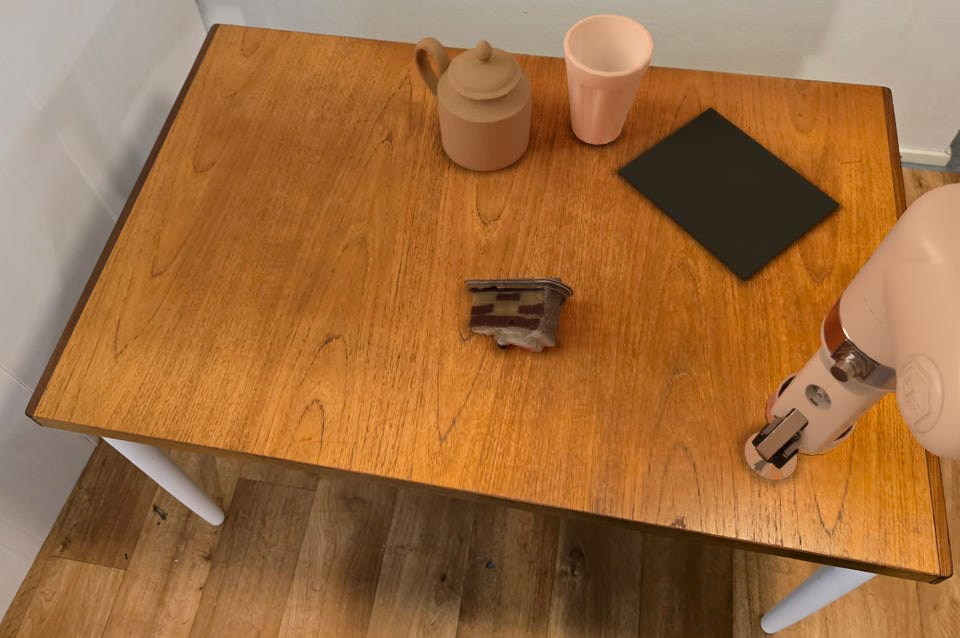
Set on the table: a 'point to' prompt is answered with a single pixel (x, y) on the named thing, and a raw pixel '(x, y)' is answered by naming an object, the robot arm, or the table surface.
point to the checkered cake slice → (518, 310)
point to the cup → (604, 73)
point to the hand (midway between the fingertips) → (796, 428)
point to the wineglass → (768, 468)
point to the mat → (728, 192)
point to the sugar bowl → (478, 103)
